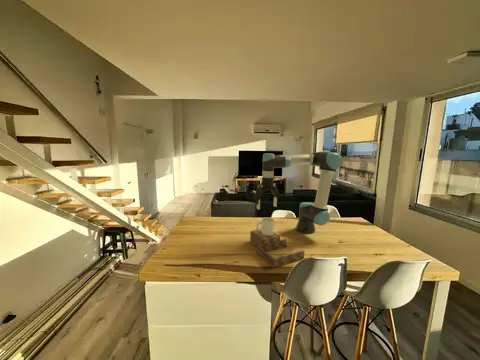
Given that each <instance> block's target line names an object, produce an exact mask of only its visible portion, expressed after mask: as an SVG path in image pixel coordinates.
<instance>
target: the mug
mask: <svg viewBox="0 0 480 360" xmlns="http://www.w3.org/2000/svg"><path fill="white" fill-rule="evenodd" d="M274 223H275V219H274V218H272V217H263V218H261V221H258V222H257V223H256V225H255V227H256V230H258V231H260V232H261V233H262V234H263V235H265V236H271V235H273V232H274ZM259 225H261V228H260V229H261V230H260V229H259Z"/></svg>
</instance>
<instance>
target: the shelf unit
mask: <svg viewBox="0 0 480 360" xmlns="http://www.w3.org/2000/svg"><path fill="white" fill-rule="evenodd" d="M260 230H261V228H260ZM249 236H250V238H249V242H250V243H251V244H252V245H253V246H255V247H256V254H257V255H258V256H259V257H260V258H261V259H263V261H265V262H266V263H267V264H268V265H269V266H271V268H277V267H279V266H283V265H287V264H291V263H293V262H298V261H300V260H304V259H305V252H306V251H305V250H299V251H296V252H291V253H288V254H284V255H280V256H276V257H273V256H272V255H271V254H269V253H268V252H270V251H274V250H278V249H282V248H283V249H284V248H286V247H287V245H288V244H287V242H288V239H285V238H284V239H281V235H279V234H277V233H275V232H274V231H273V235H271V236H265V235H263V234H262V233H261V232H260V231H258V230H257V229H254V230H250V235H249ZM303 258H304V259H303Z"/></svg>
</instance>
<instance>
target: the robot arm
mask: <svg viewBox="0 0 480 360" xmlns="http://www.w3.org/2000/svg"><path fill="white" fill-rule="evenodd" d="M295 165H307V166H315V167H318V170H319V171H320V173H319V174H320V175H319V179H318V184H317V190H316V194H315V200H314V202H311V201H310V202H309V201H307V202H305V201H304V202H301V203H299V209H298V210H299V211H298V212H299V214H298V221H297V224H296V226H295V230H296V231H297V232H299V233H303V234H313V233H315V232H316V227H315V225H318V226H325V225H327V224H328V222H329V221H330V219H331V214H330V212H329V207H328V201H329V196H330V191H331V187H332V186H331V185H332V181H333V177H334V174H335V173H337V170H338V169H339V168H340V167H341V166H342V158H341V156H340V154H339V153H337V152H332V151H316V152H308V153H306V154H304V153H303V154H276V155H275V154H274V153H263V154H262V169H261V170H262V172H261V174H262V175H261V176H262V177H261V183H262V184H259V183H258V185H257V188H256V191H255V193H254V194H253V195H254V196H253V197H252V199H254V200H255V204H256V209H257V210H260V209H261V197H262V196H263V194H264V193H265V192H269V191H270V192H271V193H272V195H273V196H274V197H273V204H272V205H273V207H275V208H277V205H278V203H277V202H278V201H279V198H280V197H281V193H280V191H279V188H278V184H277V183H276V182H274V174H275V173H274V171H275V169H279V168H280V169H281V168H283V169H285V168H290V167H291V166H295Z"/></svg>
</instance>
